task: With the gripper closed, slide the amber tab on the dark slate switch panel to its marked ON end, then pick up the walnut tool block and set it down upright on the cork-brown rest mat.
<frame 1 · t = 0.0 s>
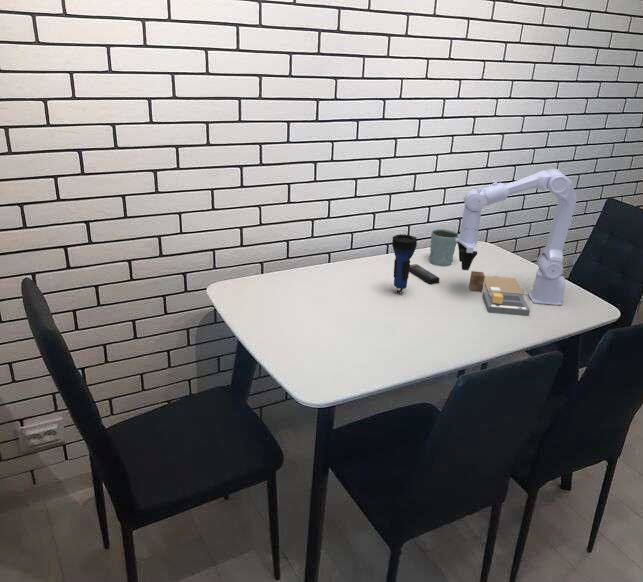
hand: (463, 265, 195), 10 cm above the table, tool pointing down, fingers open, 7 cm apart
flashlight: (398, 293, 196), on the table
switch tab a: (497, 298, 187), point 4 cm above the table, slide at 0.0 cm
tool block: (475, 289, 202), on the table
rest mat: (501, 285, 206), on the table
green cup: (440, 262, 225), on the table
multiport hub: (422, 277, 211), on the table
switch tab b: (494, 292, 192), point 4 cm above the table, slide at 0.0 cm
switch panel: (504, 306, 191), on the table
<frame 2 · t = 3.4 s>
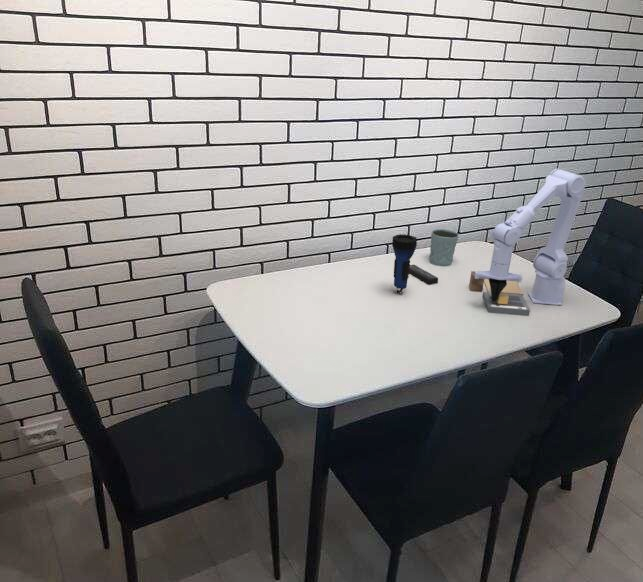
hand: (493, 299, 188), 3 cm above the table, tool pointing down, fingers closed
switch tab a: (502, 298, 187), point 4 cm above the table, slide at 1.7 cm, touching gripper
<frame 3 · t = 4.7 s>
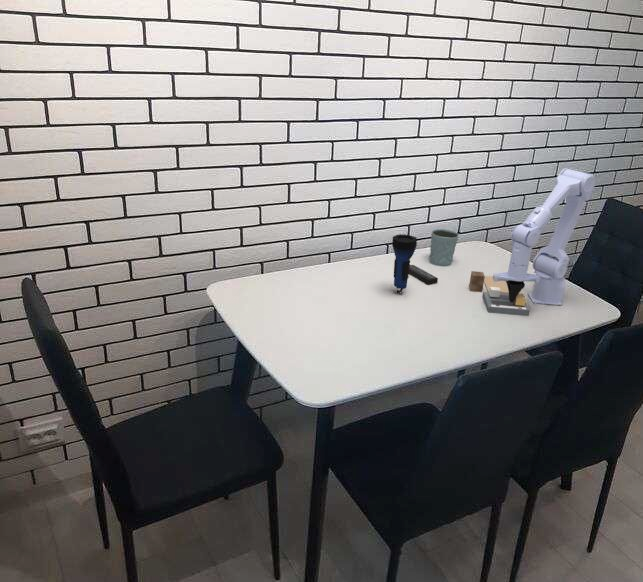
hand: (511, 301, 187), 3 cm above the table, tool pointing down, fingers closed
switch tab a: (519, 300, 187), point 4 cm above the table, slide at 7.2 cm, touching gripper
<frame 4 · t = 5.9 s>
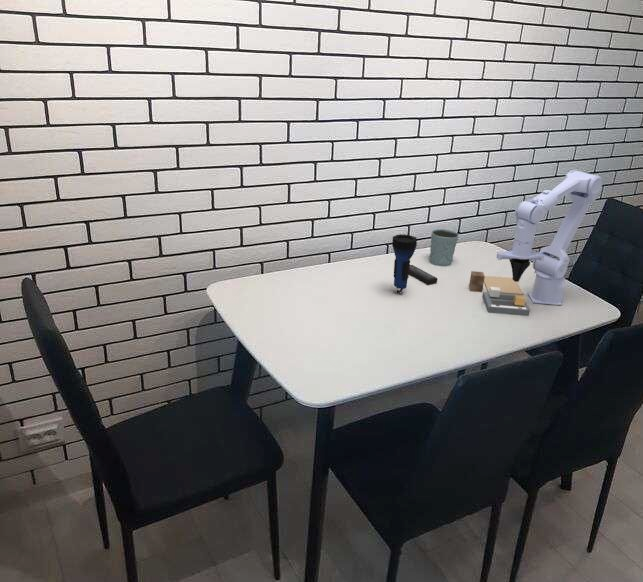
hand: (515, 280, 184), 10 cm above the table, tool pointing down, fingers closed
switch tab a: (519, 300, 187), point 4 cm above the table, slide at 7.1 cm
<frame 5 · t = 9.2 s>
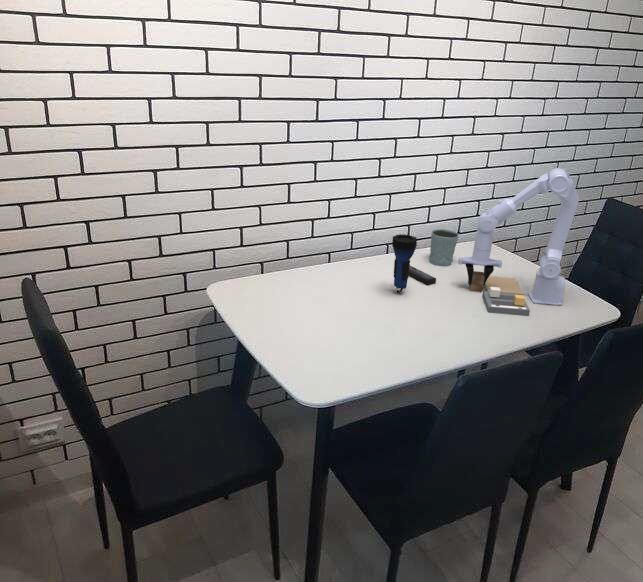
hand: (476, 284, 202), 2 cm above the table, tool pointing down, fingers closed on tool block, 4 cm apart
tool block: (475, 289, 202), on the table, touching gripper
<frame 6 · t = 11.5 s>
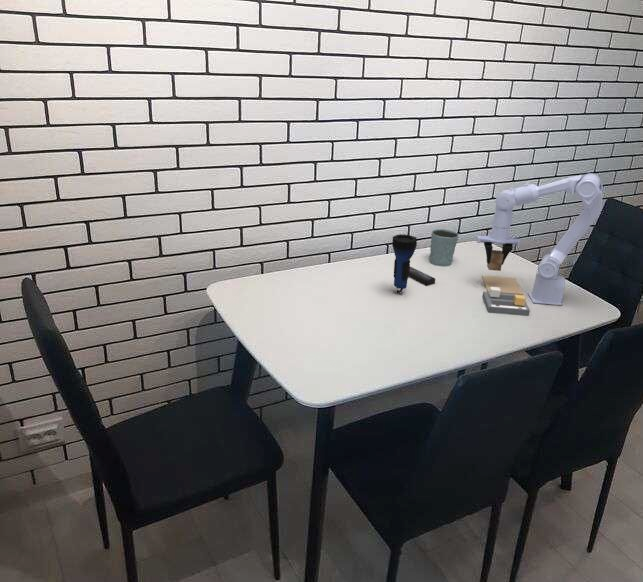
hand: (494, 263, 200), 9 cm above the table, tool pointing down, fingers closed on tool block, 4 cm apart
tool block: (493, 268, 201), point 7 cm above the table, touching gripper
when the fingers open (4 cm above the table, at t = 13.7 s): tool block stays where it is, resting on rest mat.
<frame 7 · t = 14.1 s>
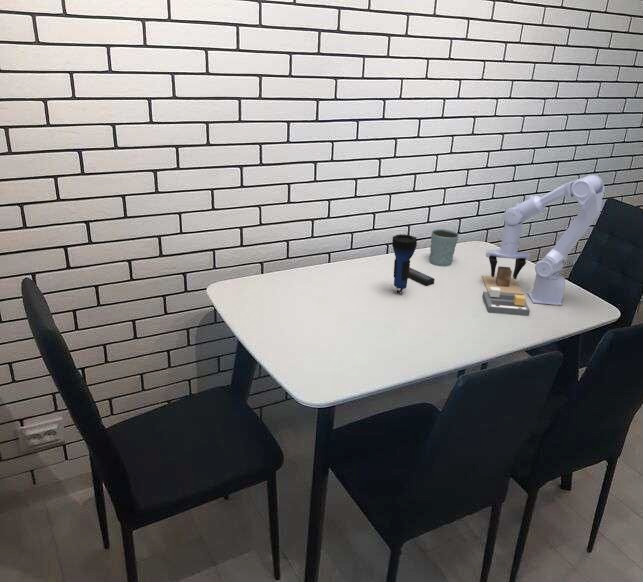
hand: (503, 276, 205), 4 cm above the table, tool pointing down, fingers open, 7 cm apart
tool block: (502, 284, 206), point 1 cm above the table, touching rest mat
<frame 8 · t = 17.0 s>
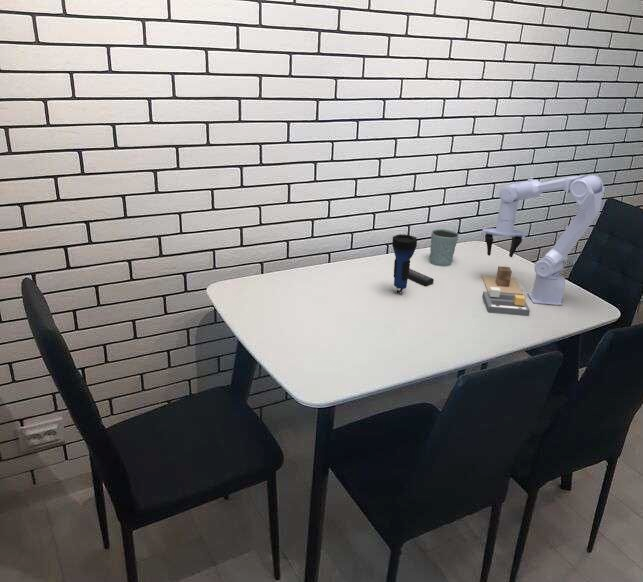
hand: (499, 255, 205), 10 cm above the table, tool pointing down, fingers open, 7 cm apart
at the end: switch tab a slide at 7.1 cm; tool block inside the target area on the rest mat (0.0 cm from its centre), point 0.6 cm above the rest mat's base; tool block tilted 0° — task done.
